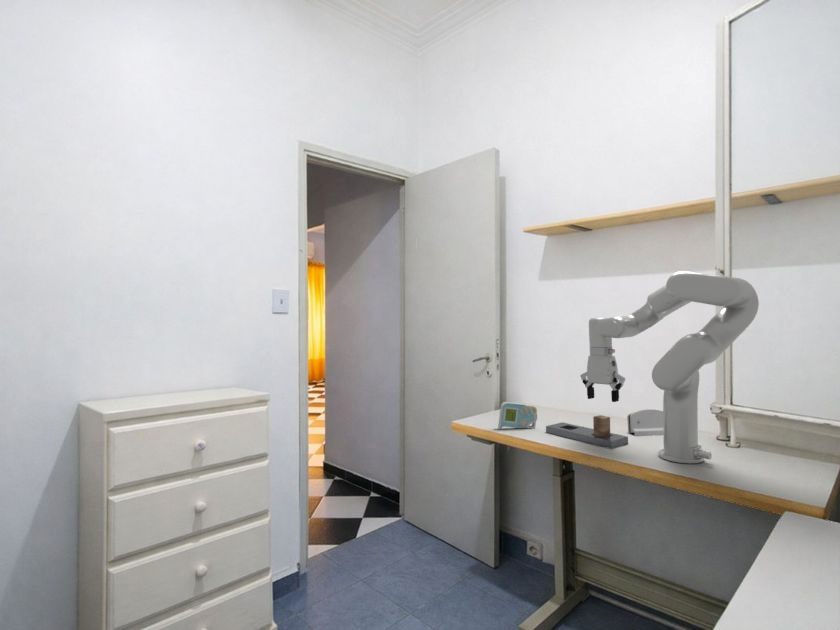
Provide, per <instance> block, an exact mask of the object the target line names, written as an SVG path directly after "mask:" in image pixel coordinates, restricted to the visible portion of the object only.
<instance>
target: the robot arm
mask: <svg viewBox="0 0 840 630" xmlns="http://www.w3.org/2000/svg"><path fill="white" fill-rule="evenodd" d="M692 302H693V303H697V304H698V303H699V304H704V305H711V306H717V307H722V308H721V309H720V311H719V312H717V314H715V315H714V316H713V317H711V318H710V320H709V321H708V322H707V323H706V324H705V325H704V326H703V327H702V328H701V329H700V330H699V331H698V332H696V333H690V334H686V335H685V336H683V337H681V338H680V339H679V340H677V341H676V342H675V343H674V344H673V345H672V346H671V348H669V350H668V351H667V352H666V353H665V354H664V355H663V356H662V357H661V358H660V359H659V360H658V361H657V362H656V363H655V364H654V366H653V368H652V370H651V379H652V382H653V384H654V385H655V386H656V387H657V389H658V388H659V389H660V390H662V391H663V396H662V397H663V398H662V399H663V400H662V401H663V402H662V411H663V433H664V435H663V448H662V449H659V450H658V452H657V453H658V456H659V457H660V459H663V460H665V461H669V462H674V463H677V464H678V463H679V464H700V463H703V462H704V461H705V459H706V460H709V461H710V460H711V459H712V456H713V455H712V452H711V451H707V450H703V448H702V445H700V444H699V435H698V434H699V426H698V425H699V421H698V420H699V419H698V408H699V407H698V404H699V403H698V401H699V400H698V399H699V397H698V396H699V395H698V394H699V388H700V387H699V386H700V371H699V370H700V369H701V368H702V367H704V366H705V365H708V364H711V363H713V362H715V361H716V360H717V359H719V358H720V356H721V355H722V354H723V353H724V352H725V351H726V350H728V348H729V347H730V346H731V345H732V344H733V343H734V342H735V341H736V340H737V339H738V338H739V336H740V335H741V334H743V333H744V331H746V330H747V328H749V326H750V325H751V324H752V323H753V321H754V320H755V318H756V316H757V314H758V311H759V305H760V303H759V296H758V294H757V292H756V289H755V288H754V287H753V285H752V284H751V283H750V282H748V281H747V280H746V279H743V278H740V277H734V276H733V277H732V276H724V275H715V274H707V273H706V274H705V273H699V272H695V271H690V270H689V271H688V270H679V271H677V272H674V273H673V274H671V275H670V276H669V277H668V279H667V281H666V284H665V285H662V286H661V287H660V288H658V289H657V290H655V291H654V292H652V293H650V294H649V295H648V296H647V297H646V302H645V304H644V305H643V306H641V307H640V308H638V309H637V310H635V311H634V312H632V313H629V314H628V315H621V316H612V317H591V318H590V319H588V338H589V339H588V340H589V355H588V358H587V366H586V371H585V372H584V373H582V374H580V378H581V381H582V383H583V384H584V386H585V388H586V394H587V399H588V400H592V399H594V398H595V388H594V385H595V384H599V385H609V387H610V388H611V392H610V393H611V395H610V396H611V402H612V403H616V402H619V401H620V400H619V399H620V390H621V388H622V387H623V386H624V384H625V381H626V378H625V377H624V376H622V375H621V374H619V372H618V371H619V370H618V369H619V368H618V363H617V359H616V356H615V355H613V354H615V353H616V350H615V349H613V340H612V339H624V338H633V337H635V336H637V335H639V334H641V333H642V332H645V331H646V330H649V329H650V328H652V327H653V326H655V325H656V324H658V323H659V322H661V321H662V320H663V319H664V318H665V317H667V316H669V315H670V314H672V313H674V312H676V311H678V310H679V309H682V308H683V307H685V306H686V305H689V304H690V303H692Z"/></svg>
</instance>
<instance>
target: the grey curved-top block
mask: <svg viewBox="0 0 840 630" xmlns="http://www.w3.org/2000/svg"><path fill="white" fill-rule="evenodd" d="M626 418H627V432H628V434H633V435H634V437H648V436H649V437H651V436H653V435H655V436H664V433H663V410H659V409H650V408H649V409H639V410H637V411H633V412H632V413H629V414H628V415H627V417H626Z"/></svg>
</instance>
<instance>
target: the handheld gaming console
mask: <svg viewBox="0 0 840 630" xmlns="http://www.w3.org/2000/svg"><path fill="white" fill-rule="evenodd" d="M537 420H538V409H537V407H536V406H534V405H531V404H525V403H519V402H510V401H504V402H502V403H501V404H500V410H499V417H498V425H497V426H498V427H497V429H498V428H499V429H501V430H502V429H503V428H516V429H517V428H518V429H532V428H534V429H536V423H537ZM499 429H498V430H499Z"/></svg>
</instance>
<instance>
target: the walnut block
mask: <svg viewBox="0 0 840 630" xmlns="http://www.w3.org/2000/svg"><path fill="white" fill-rule="evenodd" d="M592 419H593V420H592V421H593V429H594V436H599V437H603V438H605V437H609V436H610V433H611V417H610V416H606V415H601V414H598V415H595V416H593V418H592Z"/></svg>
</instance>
